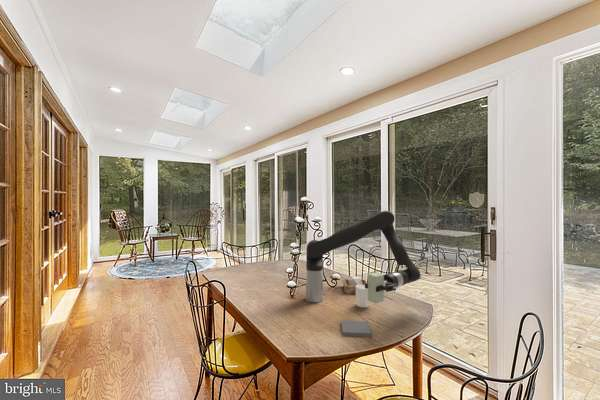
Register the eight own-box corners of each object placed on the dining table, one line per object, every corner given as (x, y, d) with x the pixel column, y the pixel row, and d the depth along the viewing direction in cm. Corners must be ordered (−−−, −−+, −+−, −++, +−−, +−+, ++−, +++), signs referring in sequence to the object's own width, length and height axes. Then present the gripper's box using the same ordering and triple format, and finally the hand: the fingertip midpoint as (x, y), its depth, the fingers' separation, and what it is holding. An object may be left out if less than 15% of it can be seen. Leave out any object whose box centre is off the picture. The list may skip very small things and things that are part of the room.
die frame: (345, 293, 182) (345, 286, 182) (343, 285, 197) (343, 278, 197) (368, 294, 181) (369, 286, 181) (365, 286, 196) (365, 279, 196)
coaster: (342, 335, 128) (342, 332, 128) (341, 323, 140) (341, 320, 140) (371, 336, 127) (371, 333, 127) (367, 324, 139) (367, 321, 139)
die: (351, 287, 195) (344, 277, 191) (363, 281, 194) (356, 271, 190) (354, 296, 187) (347, 285, 184) (367, 290, 186) (360, 279, 183)
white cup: (367, 309, 157) (367, 290, 157) (353, 306, 161) (353, 287, 161) (372, 304, 164) (372, 286, 164) (358, 301, 168) (358, 283, 168)
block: (375, 303, 135) (376, 276, 135) (367, 300, 140) (367, 274, 139) (383, 301, 138) (383, 274, 138) (375, 298, 142) (375, 272, 142)
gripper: (379, 270, 153) (358, 276, 142) (405, 276, 142) (384, 283, 131) (379, 285, 153) (358, 292, 142) (405, 292, 142) (384, 300, 131)
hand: (371, 287), depth 137 cm, fingers closed on block, 5 cm apart
